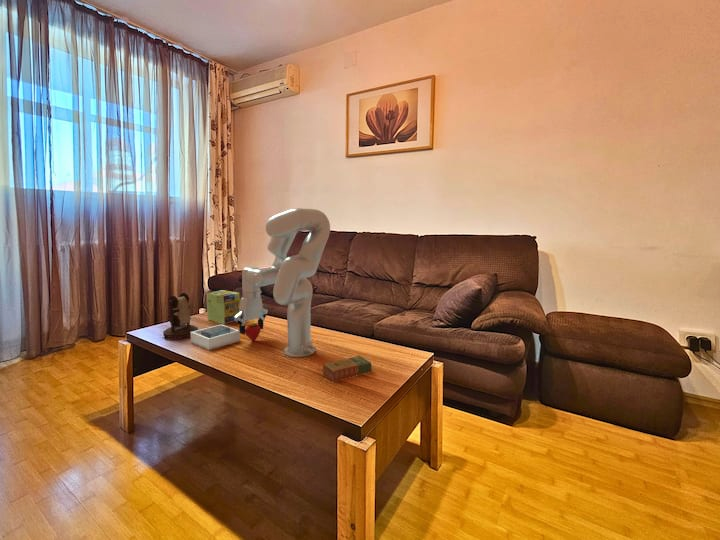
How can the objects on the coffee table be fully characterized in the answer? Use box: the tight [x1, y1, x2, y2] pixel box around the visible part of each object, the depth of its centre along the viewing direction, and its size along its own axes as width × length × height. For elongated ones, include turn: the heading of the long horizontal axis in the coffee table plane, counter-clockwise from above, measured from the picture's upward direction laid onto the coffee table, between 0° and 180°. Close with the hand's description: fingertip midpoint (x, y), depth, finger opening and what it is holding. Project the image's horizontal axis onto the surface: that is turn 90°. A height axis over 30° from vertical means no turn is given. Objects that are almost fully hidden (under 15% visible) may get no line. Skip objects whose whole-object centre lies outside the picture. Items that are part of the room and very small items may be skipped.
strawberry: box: [245, 319, 262, 342], centre depth 157 cm, size 6×8×10 cm
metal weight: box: [201, 324, 230, 338], centre depth 156 cm, size 6×10×5 cm, turn 150°
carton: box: [322, 355, 373, 383], centre depth 126 cm, size 8×16×4 cm, turn 123°
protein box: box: [206, 289, 241, 325], centre depth 190 cm, size 10×15×16 cm
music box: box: [163, 292, 199, 340], centre depth 164 cm, size 15×15×20 cm
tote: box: [190, 323, 241, 351], centre depth 156 cm, size 15×15×5 cm
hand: (251, 330), depth 157 cm, fingers open, 9 cm apart
